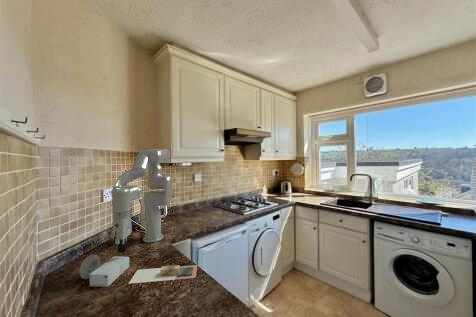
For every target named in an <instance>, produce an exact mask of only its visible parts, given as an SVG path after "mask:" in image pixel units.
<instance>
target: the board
mask: <svg viewBox="0 0 476 317" xmlns="http://www.w3.org/2000/svg"><path fill="white" fill-rule="evenodd" d="M185 267H194V268H193V274H192V276H180V277H177V275H169V276H160V269H161V267H155V268H143V269H142V268H141V269H137V270H136V271H135V273H134V275H133V276H132V278H131V279H130V280H129V282H128V285H129V284H139V283H140V284H141V283H151V282H152V283H153V282H162V281H175V280H188V279H195V278H197V271H198V264H193V265H183V266H182V265H181V266H180V268H185Z"/></svg>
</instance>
